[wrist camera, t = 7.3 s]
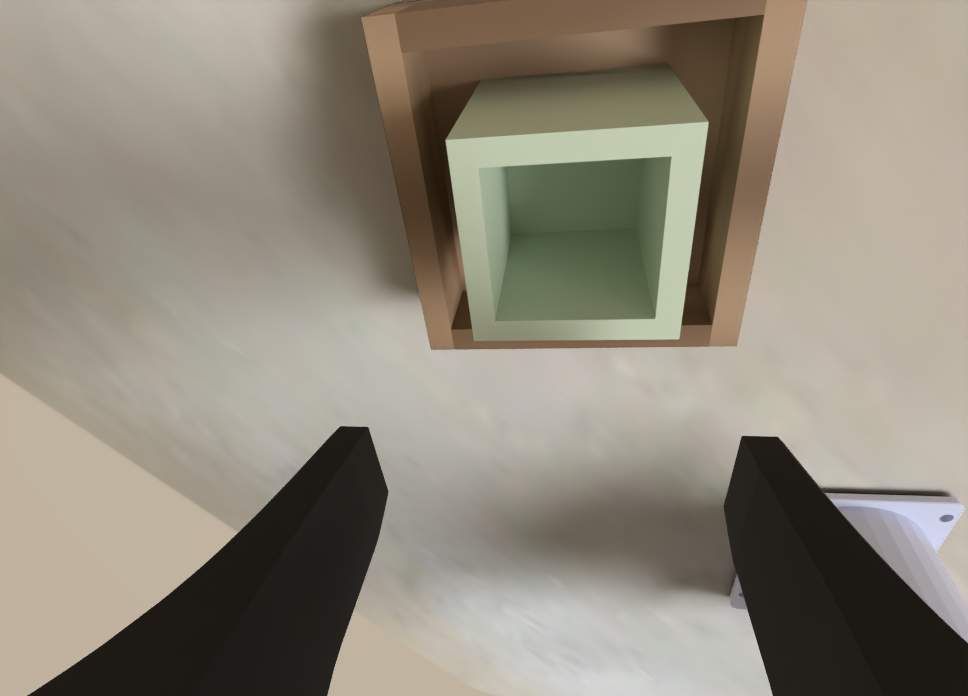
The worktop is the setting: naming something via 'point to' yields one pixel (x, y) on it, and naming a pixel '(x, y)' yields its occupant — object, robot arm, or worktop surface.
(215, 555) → the robot arm
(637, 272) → the small crate
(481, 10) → the big crate
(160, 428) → the worktop surface
